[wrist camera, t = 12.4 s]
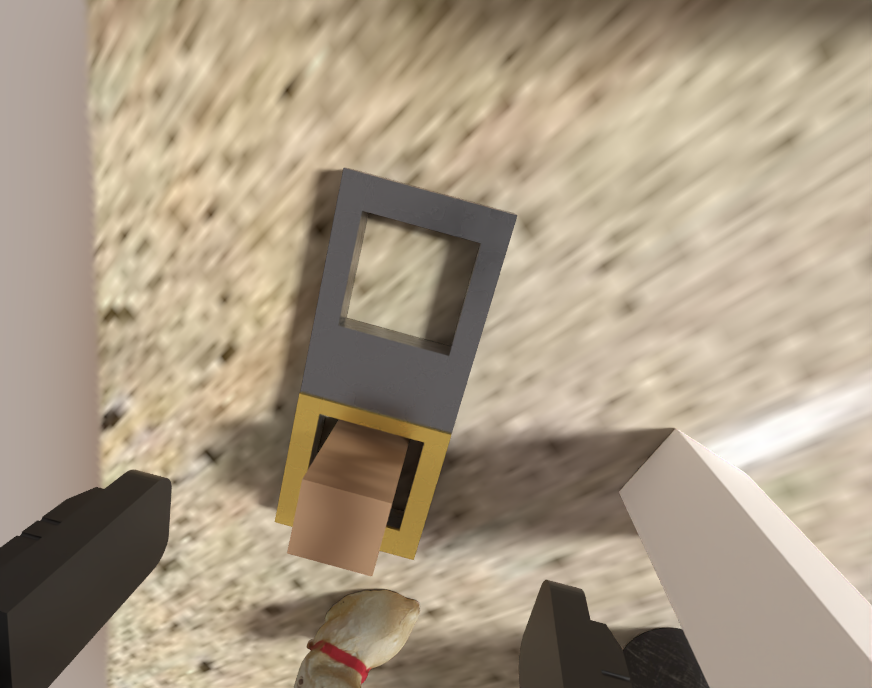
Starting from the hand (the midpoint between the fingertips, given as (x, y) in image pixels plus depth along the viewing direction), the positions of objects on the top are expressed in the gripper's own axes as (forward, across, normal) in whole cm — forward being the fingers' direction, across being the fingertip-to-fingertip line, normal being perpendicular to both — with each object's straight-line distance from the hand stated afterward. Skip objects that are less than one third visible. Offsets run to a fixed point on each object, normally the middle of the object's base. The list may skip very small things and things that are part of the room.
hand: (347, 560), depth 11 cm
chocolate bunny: (+22, 0, +25) cm, 34 cm away
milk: (+23, -18, +8) cm, 30 cm away
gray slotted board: (+22, +3, +5) cm, 23 cm away
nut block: (+22, +3, +12) cm, 25 cm away
